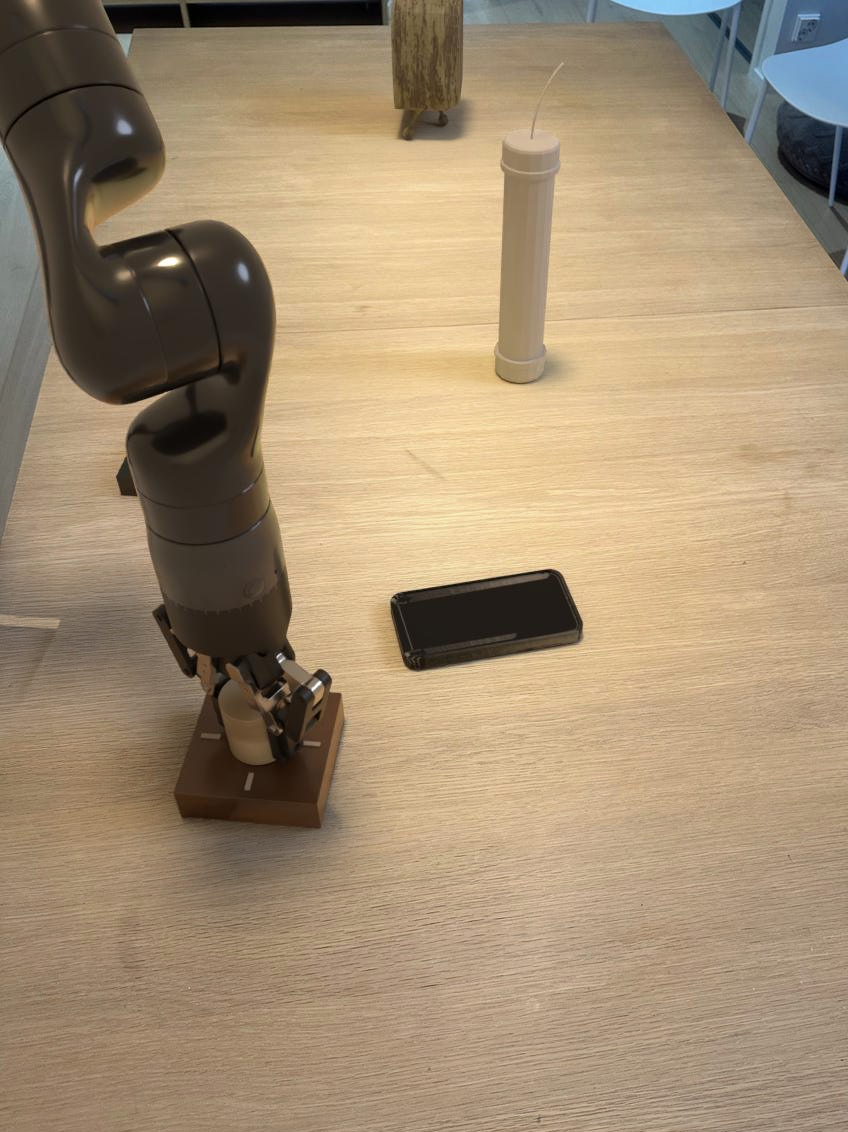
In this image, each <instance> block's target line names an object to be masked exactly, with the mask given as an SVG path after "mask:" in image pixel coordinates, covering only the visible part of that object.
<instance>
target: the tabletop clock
mask: <svg viewBox="0 0 848 1132" xmlns="http://www.w3.org/2000/svg"><path fill="white" fill-rule="evenodd" d="M390 37H391V38H390V40H391V41H390V42H391V69H392V70H391V72H392V90H393V91H392V93H393V106H394V109H395V110H412V113H411V117H410V119H409V124H408V126H405V127H404V128H403V129H402V135H403V137H404V138H405V139H407V140H409V139H411V138H413V137H414V135H415V131H414V128H413V127H414V125H415V124H416V121H417V120H418V117H419V115H420V114H421V113H423V111H436V112H437V111H438V113H439V115H438V116H437V122H438V124H439V125H440V126H442V127H444V126H446V125H448V124H449V116H448V115H447V114H445V113H444V112H446V111H448V110H451V109H452V108H454V107H457V106H458V105H459V104H460V102H461V95H462V88H463V87H462V85H463V76H464V75H463V71H464V70H463V69H464V0H391V8H390Z"/></svg>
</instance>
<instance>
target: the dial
mask: <svg viewBox="0 0 848 1132" xmlns="http://www.w3.org/2000/svg"><path fill="white" fill-rule="evenodd" d="M261 691H262V690H261ZM261 691H260V692H261ZM218 702H219V707H220V711H221V715H222V719H223V723H224V726H225V730H226V734H227V738H228V742H229V746H230V750H231V752H232V754H233V755H234V756H235V757H236V758H237V759H238V760H240V761H241V762H244V763H246V764H250V765H263V764H268V763H271V762H273V761H275V759H274V758H273V756H272V752H271V747H270V743H269V738H268V734H267V726H266V724H265V722H264V720H263V718H262V716H261V714H260V712H258V711H255V710H253V709H251V708H250V707H249V705H248V703H247V701H246V699H245V697H244V695H243V693H242V691H241V689H240V687H239V685H238V683H237V681H234V680H232V679H231V680H229V681H228V682H227V683H226V684H225V685H224V686H223V688H222V689H221V691H220V693H219V698H218ZM284 705H285V704H284V702H283V700H281V701H280V702H279V703H278V704H277V705H276V707H275V710H276V712H278V711H279V710H280V709H281V708H282V707H283V706H284Z"/></svg>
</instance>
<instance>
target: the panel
mask: <svg viewBox="0 0 848 1132" xmlns="http://www.w3.org/2000/svg"><path fill="white" fill-rule="evenodd" d="M205 693H206V692H205ZM213 706H214V705H213V703H212V700H211V696H210V695H209V694H207V693H206V694H205V696H204V699H203V702H202V706H201V709H200V712H199V715H198V717H197V722H196V724H195V726H194V730H193V733H192V736H191V739H190V741H189V745H188V748H187V751H186V754H185V756H184V760H183V763H182V766H181V769H180V772H179V775H178V778H177V781H176V784H175V787H174V790H173V793H172V794H173V797H174V800H175V802H176V804H177V805H176V806H177V808H178V811H179V814H180V817H181V818H187V817H188V818H189V819H199V818H202V819H201V820H212V819H214V821H224V820H225V821H224V822H226V821H227V822H237V823H249V822H250V824H251V823H252V824H263V825H264V824H265V825H274V824H275V826H287V825H288V826H287V827H299V826H301V828H312V829H313V828H314V829H321V828H322V825H323V820H324V817H325V812H326V808H327V807H326V806H327V802H328V798H329V793H330V788H331V783H332V778H333V775H334V769H335V764H336V760H337V755H338V751H339V746H340V740H341V736H342V732H343V728H344V723H343V722H345V710H344V709H345V708H344V701H343V694H342V692H334V691H333V692H332V691H330V692H329V696H328V699H327V703H326V707H325V711H324V715H323V718H322V719H321V720H320V721H319V722H318V723H317V724H316V725H315V726H314V727H313V728H312V729H311V730H310V731H309V732H308V733H307V734H306V735H305V736H304V737H303V742H304V745H303V747H302V748H301V749H300V750H299V751H298V752H297V753H296V754H295V755H294V756H293V757H292V758H291V759H290V760H288V759H287V760H286V761H285V762H284V763H280V762H279V761H277V760H275V761H273V762H271V763H268V764H263V765H250V764H246V763H244V762H241V761H240V760H238V759H237V758H236V757H235V756H234V755H233V754H232V752H231V750H230V746H229V742H228V738H227V734H226V730H225V728H224V727H222V726H221V725H219V722H218V718H217V714H216V712H215V711H214V707H213ZM238 821H240V822H238ZM276 824H277V825H276Z"/></svg>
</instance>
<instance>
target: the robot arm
mask: <svg viewBox="0 0 848 1132" xmlns="http://www.w3.org/2000/svg"><path fill="white" fill-rule="evenodd" d="M0 145H1V146H2V149H3V152H4V153H5V155H6V158H7V160H8V162H9V164H10V166H11V169H12V171H13V173H14V176H15V178H16V181H17V183H18V184H17V185H18V187H19V189H20V192H21V195H22V198H23V201H24V205H25V207H26V211H27V213H28V218H29V222H30V226H31V229H32V234H33V238H34V242H35V246H36V247H35V248H36V252H37V257H38V258H37V259H38V264H39V270H40V278H41V285H42V294H43V302H44V308H45V315H46V321H47V326H48V327H47V328H48V331H49V336H50V340H51V344H52V347H53V350H54V353H55V356H56V358H57V360H58V362H59V364H60V366H61V368H62V369H63V372H65V374H66V375H67V377H68V378H69V379H70V381H72V383H73V384H75V386H76V387H78V388H79V389H80V390H81V391H83V392H84V393H85V394H86V395H88V396H89V397H91V398H93V399H94V400H96V401H98V402H100V403H104V404H106V405H110V406H127V405H132V404H136V403H139V402H141V401H142V402H143V401H145V400H148V399H151V398H154V397H157V396H160V395H162V396H160V397H159V398H158V399H155V400H154V401H153V402H152V403H150V404H149V405H148V406H146V407H145V408H144V409H143V410H141V411H140V412H139V413H138V414H137V415H136V416H135V417H134V418H133V420H131V422H130V424H129V426H128V428H127V431H126V435H125V439H124V440H125V442H124V445H125V446H124V448H125V456H126V455H127V460H128V464H129V468H130V471H131V475H132V478H133V482H134V485H135V488H136V492H137V495H138V496H137V498H138V502H139V506H140V510H141V512H142V517H143V519H144V524H145V533H146V542H147V547H148V551H149V556H150V560H151V563H152V566H153V570H154V573H155V577H156V580H157V583H158V587H159V590H160V593H161V597H162V601H163V602H161V603H160V605H158V606H157V607H156V608H154V609H153V610H152V611H151V614H152V617H153V618H154V621H155V623H156V624H157V626H158V628H159V630H160V633H161V634H162V636H163V638H164V640H165V642H166V644H167V646H168V647H169V649H170V651H171V653H172V656H173V657H174V659H175V661H176V663H177V665H178V667H179V669H180V670H181V672H182V673H183V675H185V676H186V678H189V679H193V678H194V677H198V678H199V679H200V682H199V683H200V684H199V685H200V687H201V689H202V690H203V691H204V693H207V694H209V695H210V696H211V700H212V703H213V705H214V706H213V707H214V711H215V712H216V714H217V718H218V722H219V725H221V726H222V727H224V728H225V726H224V723H223V719H222V715H221V711H220V707H219V702H218V698H219V693H220V691H221V689H222V688H223V686H224V685H225V684H226V683H227V682H228V681H229V680H231V679H232V680H234V681H237V683H238V685H239V687H240V689H241V691H242V693H243V695H244V697H245V699H246V701H247V703H248V705H249V707H250V708H251V709H253V710H255V711H258V712H260V714H261V716H262V718H263V720H264V722H265V724H266V726H267V734H268V738H269V743H270V747H271V752H272V756H273V758H274V759H275V760H277V761H279V762H280V763H284V762H285V761H286V760H287V759H288V760H290V759H291V758H292V757H293V756H294V755H295V754H296V753H297V752H298V751H299V750H300V749H301V748H302V747H303V745H304V742H303V737H304V736H305V735H306V734H307V733H308V732H309V731H310V730H311V729H312V728H313V727H314V726H315V725H316V724H317V723H318V722H319V721H320V720H321V719H322V718H323V715H324V711H325V707H326V703H327V699H328V696H329V692H331V689H332V683H333V679H332V676H331V675H330V674H329V672H328V671H326V670H325V669H322V668H318V669H317V670H316V671H314V673H309V672H308V671H307V670H306V669H304V668H303V667H302V666H301V665H299V664H298V663H297V662H296V660H297V659H296V656H297V655H296V653H295V652H296V651H294V648H293V646H292V645H291V642H290V641H289V638H288V629H289V626H290V622H291V618H292V614H293V599H292V593H291V586H290V581H289V574H288V567H287V562H286V558H285V551H284V550H285V549H284V544H283V540H282V532H281V527H280V523H279V519H278V516H277V513H276V509H275V507H274V504H273V502H272V498H271V494H270V490H269V485H268V477H267V473H266V467H265V459H264V454H263V453H264V452H263V448H262V432H263V425H264V419H265V409H266V401H267V394H268V388H269V383H270V382H269V381H270V376H271V371H272V366H273V360H274V354H275V345H276V336H277V308H276V297H275V293H274V290H273V289H274V288H273V283H272V280H271V276H270V274H269V271H268V268H267V266H266V264H265V262H264V260H263V258H262V256H261V255H260V253H259V252H258V250H257V248H256V247H255V246H254V244H252V242H251V241H250V240H249V238H247V237H246V236H245V235H244V234H243V233H242V232H241V231H239V230H238V229H237V228H235V226H232V225H230V224H228V223H225V222H224V221H221V220H214V219H199V220H193V221H190V222H185V223H182V224H178V225H173V226H170V227H167V228H164V229H163V230H162V229H160V230H156V231H152V232H148V233H145V234H141V235H137V236H133V237H130V238H126V239H123V240H118V241H115V242H112V243H108V244H102V245H99V244H98V243H97V242H96V240H95V238H94V235H93V233H94V232H95V229H97V227H98V226H100V225H101V224H103V223H104V222H105V221H107V220H108V219H110V218H111V217H113V216H115V215H116V214H118V213H120V212H122V211H123V210H125V209H128V208H129V207H131V206H132V205H134V204H136V203H137V202H139V201H140V200H142V199H143V198H145V196H147V195H148V194H150V193H151V192H152V191H153V190H154V189H155V188H156V187H157V186H158V184H159V183H160V182H161V180H162V178H163V177H164V174H165V172H166V168H167V162H168V157H167V156H168V155H167V154H168V153H167V148H166V145H165V141H164V138H163V136H162V133H161V130H160V127H159V125H158V123H157V120H156V119H155V117H154V114H153V112H152V110H151V107H150V105H149V103H148V101H147V99H146V97H145V94H144V93H143V90H142V88H141V86H140V84H139V81H138V79H137V77H136V76H135V72H134V71H133V69H132V66H131V64H130V62H129V60H128V57H127V55H126V53H125V51H124V49H123V46H122V44H121V42H120V40H119V38H118V36H117V33H116V31H115V28H114V27H113V25H112V23H111V21H110V19H109V16H108V14H107V12H106V10H105V7H104V5H103V2H102V1H101V0H0ZM189 650H191V651H192V652H194V654H192V655H190V653H189ZM261 690H262V691H261ZM260 691H261V692H260ZM281 700H283V702H284V704H285V705H284V706H283V707H282V708H281V709H280V710H279V711H278V712H276V710H275V707H276V705H277V704H278V703H279V702H280V701H281Z"/></svg>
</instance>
